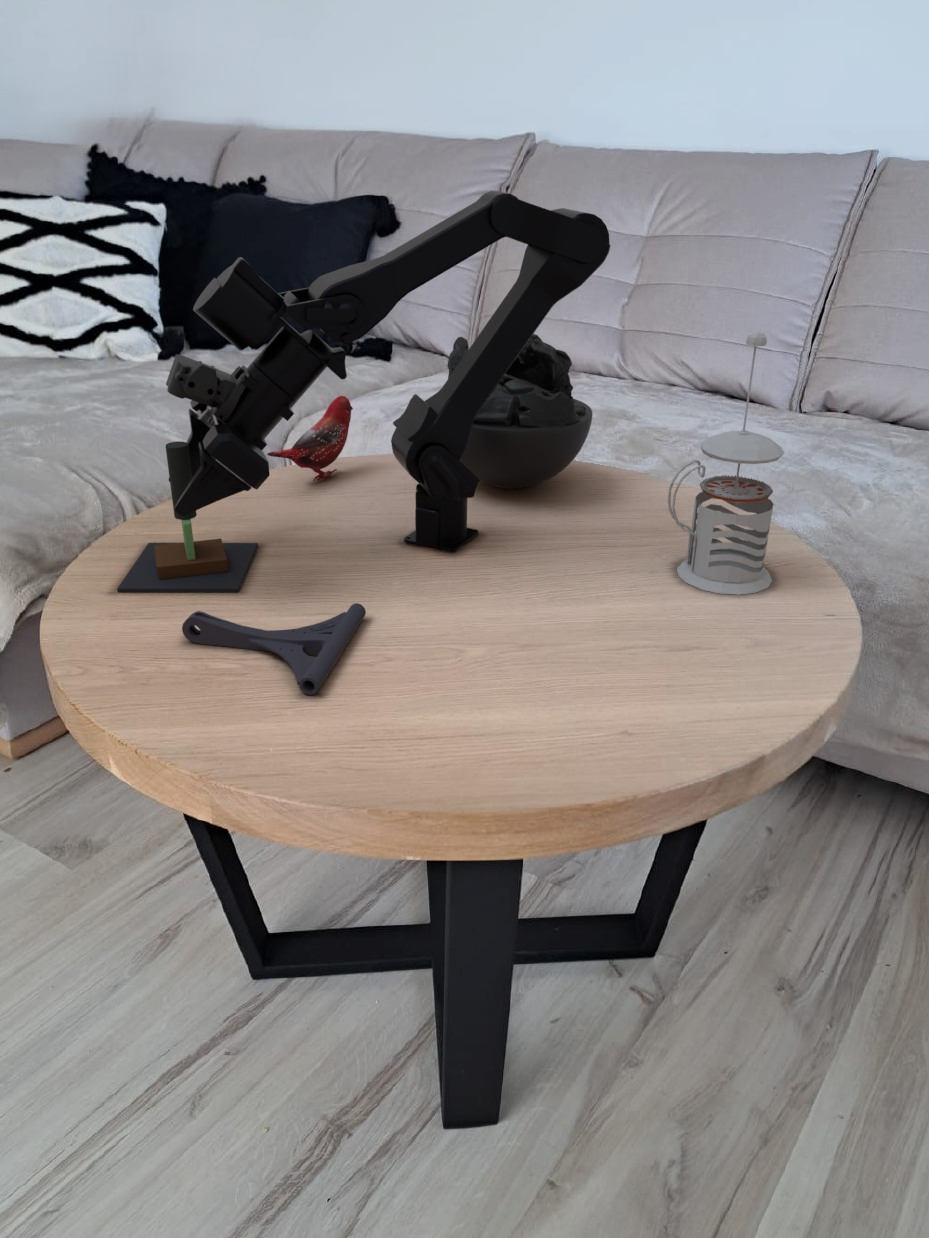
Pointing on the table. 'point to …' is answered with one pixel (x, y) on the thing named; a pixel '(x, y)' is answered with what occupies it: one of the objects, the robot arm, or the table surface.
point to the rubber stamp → (186, 528)
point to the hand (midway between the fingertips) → (174, 497)
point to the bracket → (284, 642)
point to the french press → (730, 512)
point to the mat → (146, 576)
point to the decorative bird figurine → (322, 440)
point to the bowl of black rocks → (526, 419)
